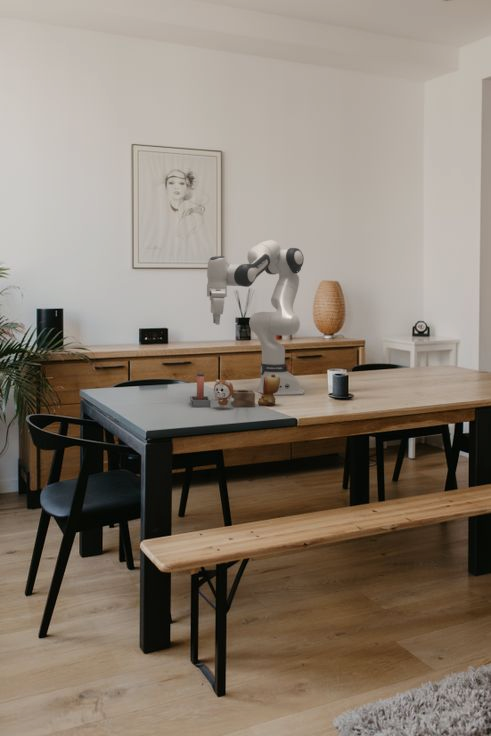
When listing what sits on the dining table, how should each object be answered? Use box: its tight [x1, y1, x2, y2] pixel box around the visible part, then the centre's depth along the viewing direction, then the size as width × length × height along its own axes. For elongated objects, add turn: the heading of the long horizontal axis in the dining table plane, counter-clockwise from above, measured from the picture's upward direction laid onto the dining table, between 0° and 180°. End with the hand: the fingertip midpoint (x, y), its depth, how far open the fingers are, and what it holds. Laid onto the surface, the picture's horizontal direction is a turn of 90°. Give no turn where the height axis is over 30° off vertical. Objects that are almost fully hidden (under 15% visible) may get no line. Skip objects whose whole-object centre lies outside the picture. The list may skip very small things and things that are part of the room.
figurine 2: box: [257, 374, 280, 407], centre depth 301 cm, size 10×8×15 cm
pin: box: [196, 372, 205, 400], centre depth 297 cm, size 3×3×13 cm
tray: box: [189, 395, 211, 408], centre depth 297 cm, size 8×11×3 cm
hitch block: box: [230, 389, 256, 408], centre depth 299 cm, size 9×9×6 cm
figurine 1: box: [212, 379, 234, 409], centre depth 290 cm, size 9×9×12 cm
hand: (216, 323), depth 309 cm, fingers open, 8 cm apart
